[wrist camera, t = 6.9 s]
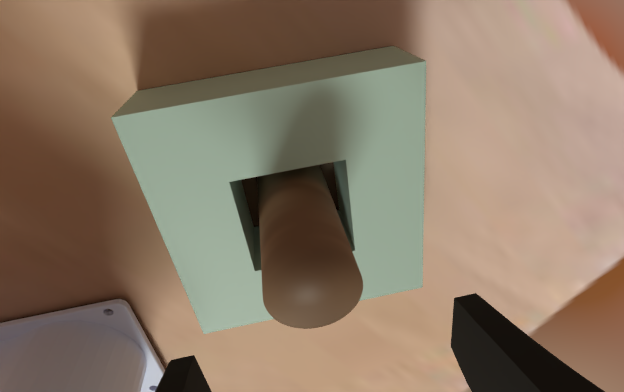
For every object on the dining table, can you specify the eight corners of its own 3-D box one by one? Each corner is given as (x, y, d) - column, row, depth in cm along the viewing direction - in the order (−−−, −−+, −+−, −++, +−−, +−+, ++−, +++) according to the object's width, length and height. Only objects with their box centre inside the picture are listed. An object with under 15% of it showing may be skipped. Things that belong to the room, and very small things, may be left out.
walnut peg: (266, 211, 20) (277, 338, 13) (249, 156, 18) (250, 268, 11) (326, 196, 20) (368, 314, 13) (314, 140, 18) (355, 241, 11)
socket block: (210, 283, 21) (203, 333, 18) (136, 91, 16) (110, 117, 13) (398, 245, 22) (422, 287, 19) (393, 45, 16) (426, 61, 13)
